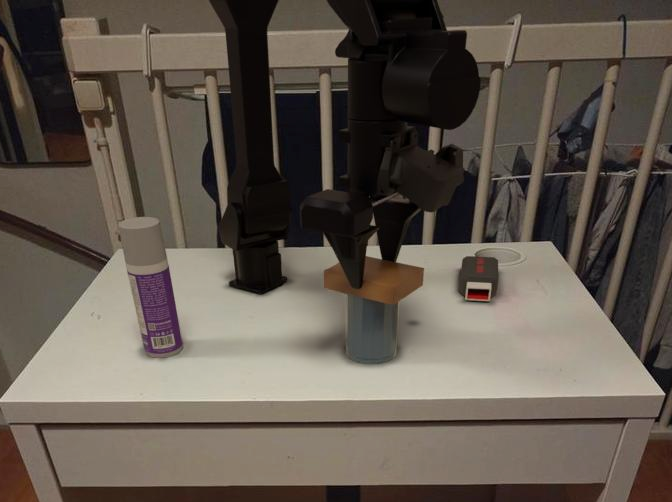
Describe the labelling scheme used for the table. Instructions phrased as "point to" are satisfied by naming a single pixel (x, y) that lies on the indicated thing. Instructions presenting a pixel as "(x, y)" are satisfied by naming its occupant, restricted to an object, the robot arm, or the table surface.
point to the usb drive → (479, 278)
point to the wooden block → (378, 280)
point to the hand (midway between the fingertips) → (373, 278)
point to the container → (151, 285)
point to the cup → (371, 330)
